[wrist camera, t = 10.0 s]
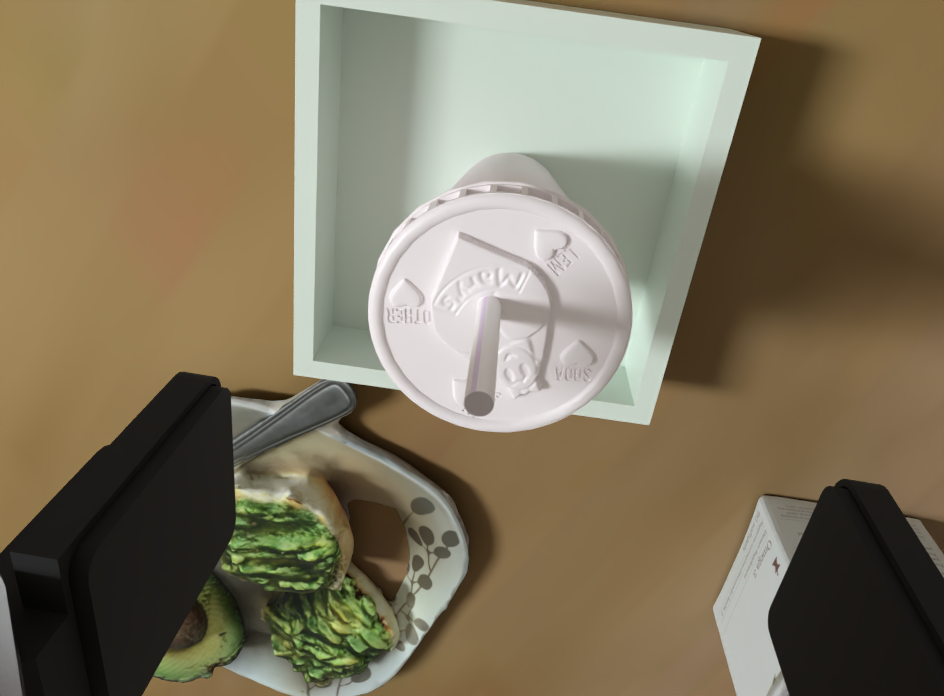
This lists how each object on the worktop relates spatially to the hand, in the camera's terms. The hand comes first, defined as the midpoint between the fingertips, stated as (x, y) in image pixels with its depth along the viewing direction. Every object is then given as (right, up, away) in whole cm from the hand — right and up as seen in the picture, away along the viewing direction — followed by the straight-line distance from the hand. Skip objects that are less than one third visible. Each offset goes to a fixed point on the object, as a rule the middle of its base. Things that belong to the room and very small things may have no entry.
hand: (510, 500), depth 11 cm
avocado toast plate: (-10, -7, +24) cm, 27 cm away
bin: (0, +8, +15) cm, 17 cm away
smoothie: (+1, +8, +14) cm, 16 cm away
